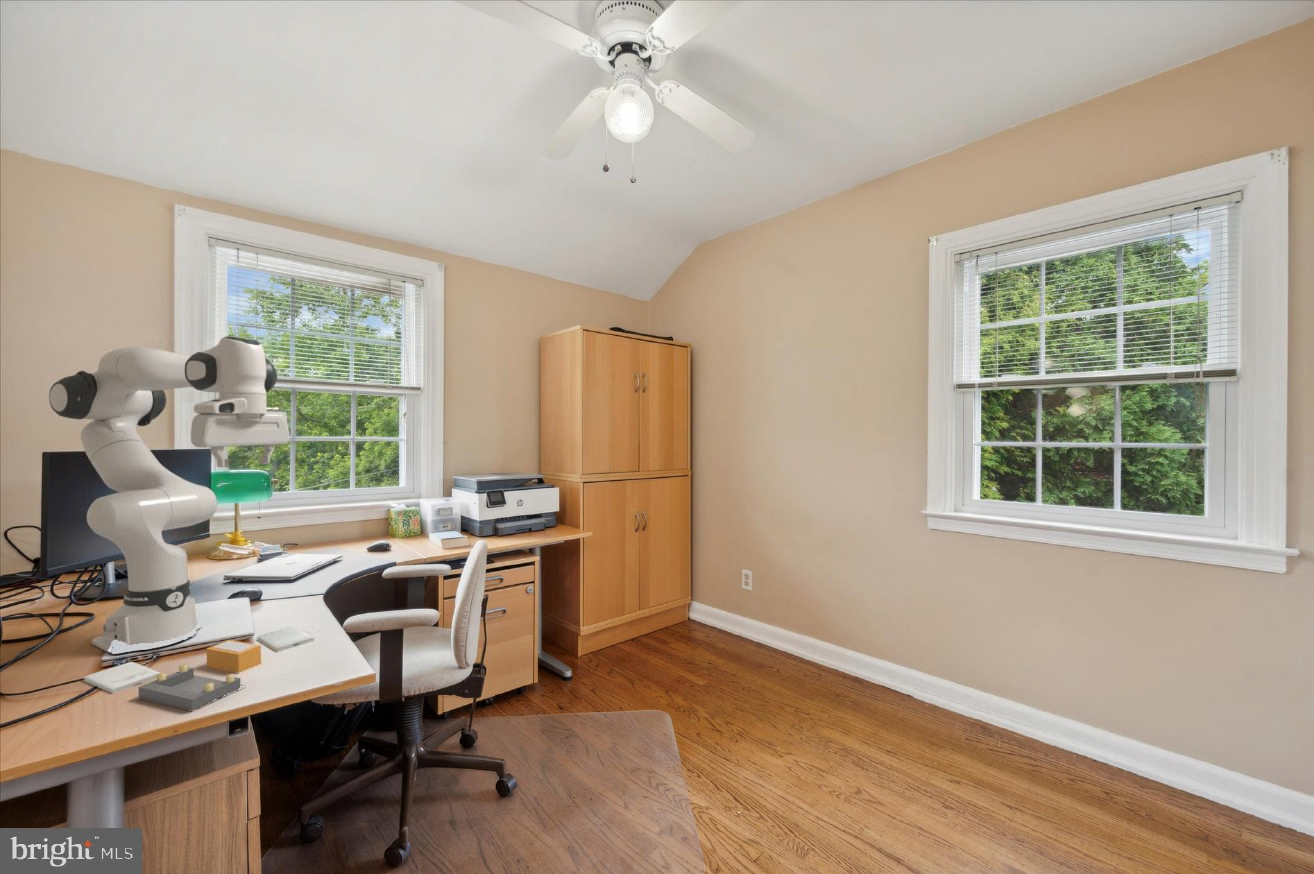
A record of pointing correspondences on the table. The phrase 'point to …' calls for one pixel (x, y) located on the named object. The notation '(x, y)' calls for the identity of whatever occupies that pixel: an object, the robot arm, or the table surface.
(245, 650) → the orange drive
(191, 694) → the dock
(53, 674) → the table surface
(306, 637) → the hard drive
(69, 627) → the table surface
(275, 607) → the table surface
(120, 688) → the external hard drive
